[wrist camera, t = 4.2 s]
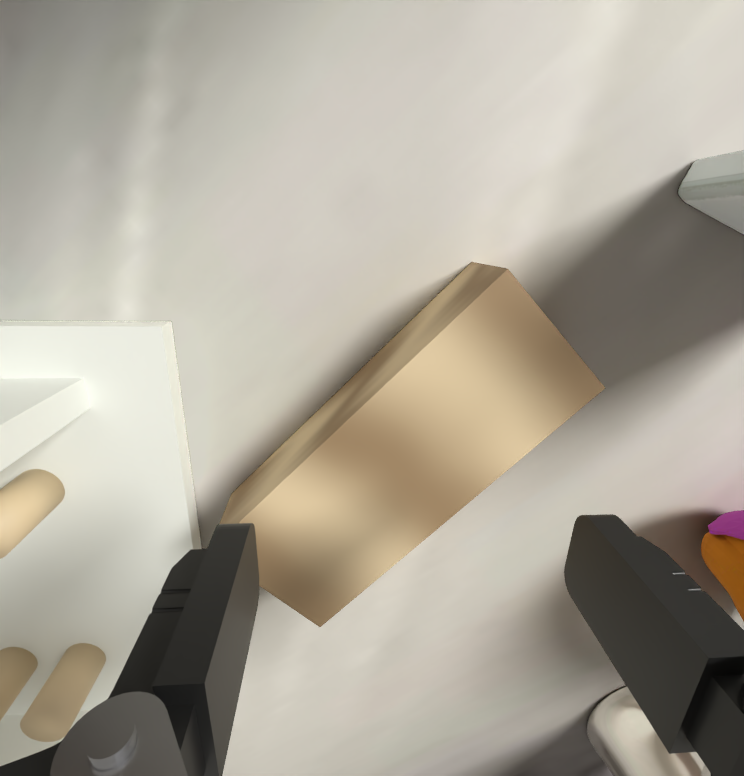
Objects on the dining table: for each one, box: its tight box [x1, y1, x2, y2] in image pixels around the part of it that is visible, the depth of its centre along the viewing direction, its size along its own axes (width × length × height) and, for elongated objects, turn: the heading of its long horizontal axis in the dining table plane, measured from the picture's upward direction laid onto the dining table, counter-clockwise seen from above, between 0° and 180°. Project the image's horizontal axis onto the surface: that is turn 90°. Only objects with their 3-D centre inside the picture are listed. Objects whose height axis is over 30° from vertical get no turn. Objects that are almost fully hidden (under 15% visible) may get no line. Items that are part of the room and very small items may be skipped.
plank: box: [220, 262, 605, 627], centre depth 17 cm, size 14×6×4 cm, turn 134°
